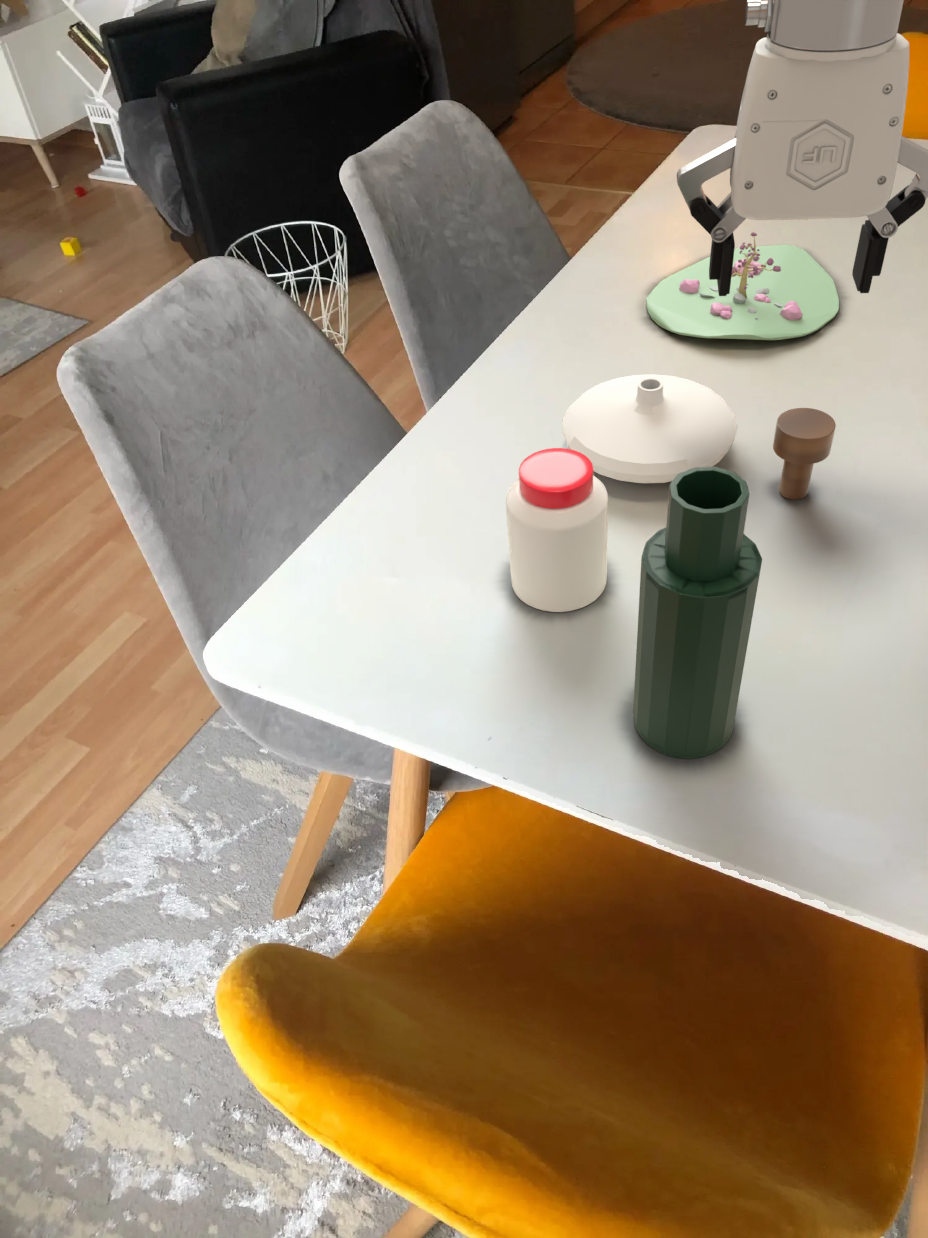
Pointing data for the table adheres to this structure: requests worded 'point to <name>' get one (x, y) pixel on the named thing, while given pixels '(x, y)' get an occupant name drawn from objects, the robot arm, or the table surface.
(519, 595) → the pill bottle
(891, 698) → the table surface
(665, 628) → the bottle
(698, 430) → the vase
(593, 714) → the table surface
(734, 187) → the robot arm
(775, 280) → the plant
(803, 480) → the stopper
